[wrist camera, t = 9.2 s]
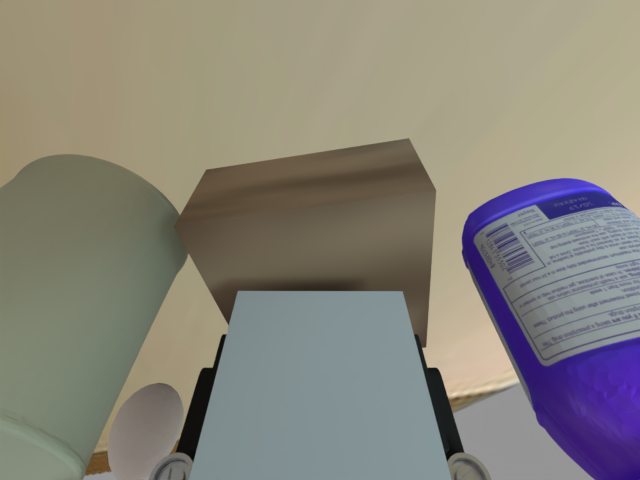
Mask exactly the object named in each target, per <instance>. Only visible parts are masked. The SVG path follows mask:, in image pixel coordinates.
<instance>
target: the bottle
mask: <svg viewBox="0 0 640 480" xmlns="http://www.w3.org/2000/svg"><path fill="white" fill-rule="evenodd" d="M462 247H463V248H462V256H463V260H464V263H465V266H466V268H467V269H468V270H469V272H470V274H471V277H472V280H473V283H474V285H475V287H476V289H477V291H478V293H479V295H480V297H481V300H482V302H483V304H484V306H485V308H486V310H487V312H488V315H489V317H490V319H491V321H492V323H493V325H494V327H495V329H496V332H497V334H498V336H499V338H500V340H501V342H502V344H503V346H504V348H505V351H506V353H507V355H508V357H509V359H510V361H511V363H512V366H513V368H514V370H515V372H516V374H517V376H518V379H519V381H520V383H521V385H522V387H523V389H524V391H525V394H526V396H527V398H528V400H529V402H530V404H531V406H532V409H533V410H534V412H535V413H536V419H537V421H538V423H539V425H540V426H542V427H543V428H544V429H545V430H546V431H547V433H548V434H549V435H550V437H551V438H552V439H553V440H554V441H555V442H556V443H557V444H558V446H559V447H560V448H561V449H562V450H563V451H564V452H565V453H566V454H567V455H568V456H569V457H570V458H571V459H572V460H573V461H575V462H576V463H577V464H578V465H579V466H580V467H581V468H582V469H583V470H584V471H585V472H586V473H588V474H589V475H590V476H591V477H592V478H594V479H595V480H640V218H638V217H637V216H636V215H635V214H634V213H633V212H631V211H630V210H628V209H627V208H626V207H625V206H623V205H622V204H621V203H620V202H618V201H617V200H616V199H615V198H614V197H613V196H612V195H611V194H610V193H609V192H607V191H606V190H604V189H603V188H601V187H599V186H597V185H595V184H593V183H590V182H587V181H584V180H579V179H573V178H559V179H550V180H545V181H540V182H536V183H532V184H529V185H526V186H523V187H519V188H516V189H514V190H511V191H509V192H506V193H504V194H502V195H500V196H498V197H495V198H493V199H491V200H489V201H487V202H486V203H484V204H483V205H481V206H480V207H478V208H477V209H475V210H474V211H473V212H471V213H470V214H469V216H468V218H467V220H466V222H465V225H464V228H463V233H462Z"/></svg>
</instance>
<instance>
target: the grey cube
mask: <svg viewBox="0 0 640 480" xmlns="http://www.w3.org/2000/svg"><path fill="white" fill-rule="evenodd" d="M189 480H452V479H451V475H450V471H449V468H448V464H447V460H446V456H445V452H444V448H443V445H442V441H441V437H440V433H439V429H438V425H437V421H436V418H435V414H434V410H433V406H432V402H431V398H430V395H429V391H428V387H427V383H426V379H425V375H424V371H423V368H422V364H421V360H420V356H419V352H418V348H417V345H416V341H415V337H414V333H413V329H412V325H411V321H410V318H409V314H408V310H407V306H406V302H405V298H404V295H403V291H238V292H237V296H236V300H235V304H234V308H233V312H232V315H231V319H230V323H229V327H228V331H227V335H226V339H225V342H224V346H223V350H222V354H221V358H220V362H219V366H218V370H217V373H216V377H215V381H214V385H213V389H212V393H211V397H210V400H209V404H208V408H207V412H206V416H205V420H204V424H203V427H202V431H201V435H200V439H199V443H198V447H197V451H196V454H195V458H194V462H193V466H192V470H191V474H190V478H189Z"/></svg>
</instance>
